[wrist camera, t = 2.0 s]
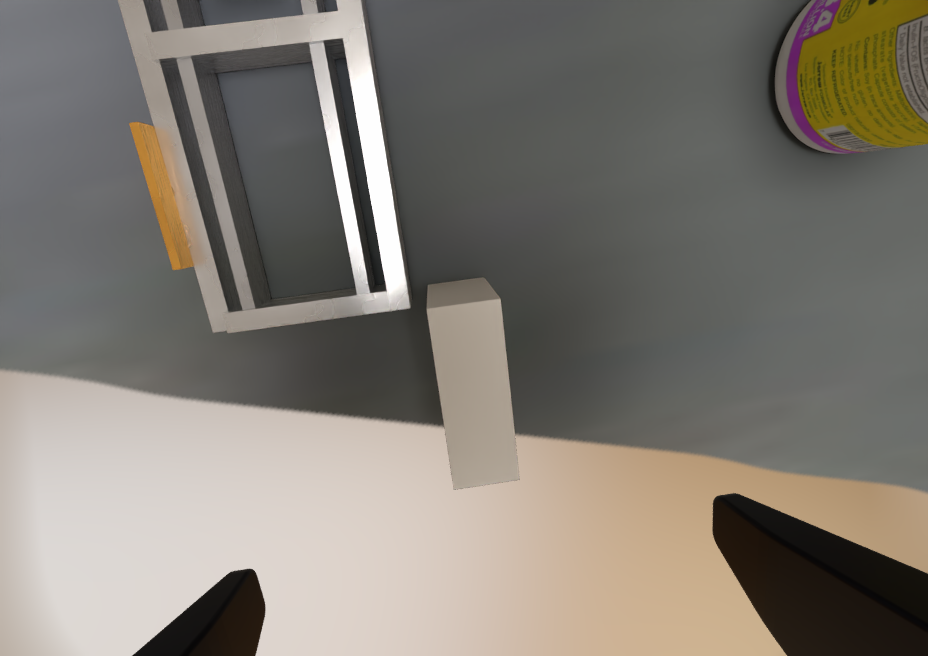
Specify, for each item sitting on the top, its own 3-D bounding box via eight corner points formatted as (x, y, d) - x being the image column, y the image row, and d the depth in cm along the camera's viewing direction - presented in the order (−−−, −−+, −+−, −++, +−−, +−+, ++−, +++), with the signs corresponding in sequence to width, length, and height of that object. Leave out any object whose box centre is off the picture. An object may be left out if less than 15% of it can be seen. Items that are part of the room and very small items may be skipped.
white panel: (483, 276, 20) (500, 298, 15) (500, 419, 22) (519, 479, 17) (427, 284, 20) (426, 308, 15) (448, 427, 22) (453, 489, 17)
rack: (316, -307, 14) (294, -406, 12) (412, 298, 20) (409, 310, 17) (52, -284, 14) (-22, -380, 12) (222, 324, 19) (194, 340, 17)
